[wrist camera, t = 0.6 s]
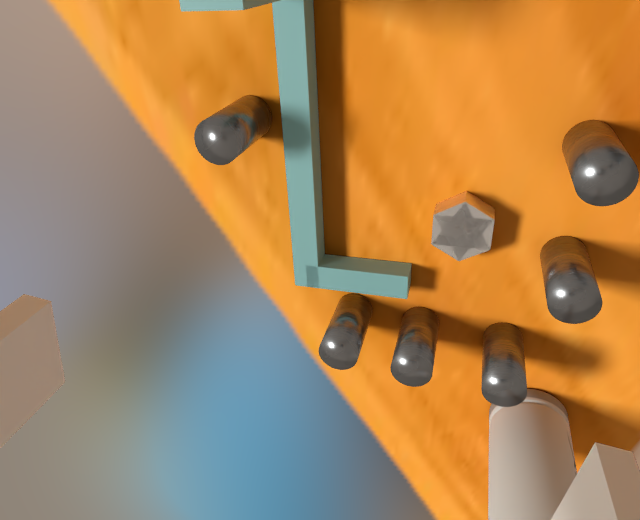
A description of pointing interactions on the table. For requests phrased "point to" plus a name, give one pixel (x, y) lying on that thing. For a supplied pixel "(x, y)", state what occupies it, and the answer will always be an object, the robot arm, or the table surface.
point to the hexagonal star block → (463, 226)
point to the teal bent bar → (310, 158)
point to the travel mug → (529, 458)
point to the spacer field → (421, 323)
